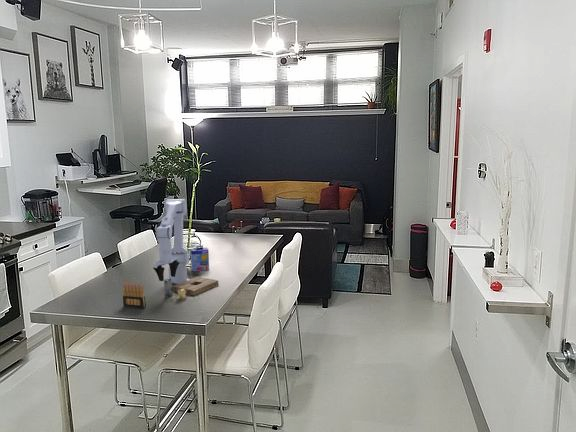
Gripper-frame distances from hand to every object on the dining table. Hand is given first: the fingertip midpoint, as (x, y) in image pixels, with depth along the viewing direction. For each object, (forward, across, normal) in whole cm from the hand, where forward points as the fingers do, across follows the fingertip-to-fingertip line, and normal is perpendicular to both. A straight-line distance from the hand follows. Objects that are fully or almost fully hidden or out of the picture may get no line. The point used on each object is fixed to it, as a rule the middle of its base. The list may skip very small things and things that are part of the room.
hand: (167, 278), depth 224 cm
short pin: (+9, 0, -9) cm, 13 cm away
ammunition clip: (+9, -18, +3) cm, 20 cm away
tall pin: (+9, 0, 0) cm, 9 cm away
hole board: (+9, +15, -4) cm, 18 cm away
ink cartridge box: (+9, +41, +17) cm, 45 cm away
